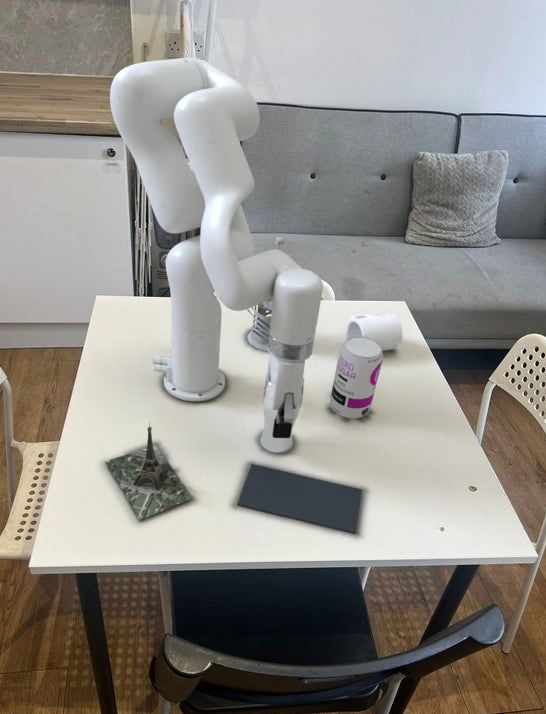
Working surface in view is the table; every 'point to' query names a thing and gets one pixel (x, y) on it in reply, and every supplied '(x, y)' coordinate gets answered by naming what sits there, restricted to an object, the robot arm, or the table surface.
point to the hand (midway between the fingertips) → (279, 423)
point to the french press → (262, 319)
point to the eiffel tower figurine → (148, 480)
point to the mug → (377, 329)
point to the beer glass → (269, 415)
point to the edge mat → (301, 498)
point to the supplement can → (356, 377)
